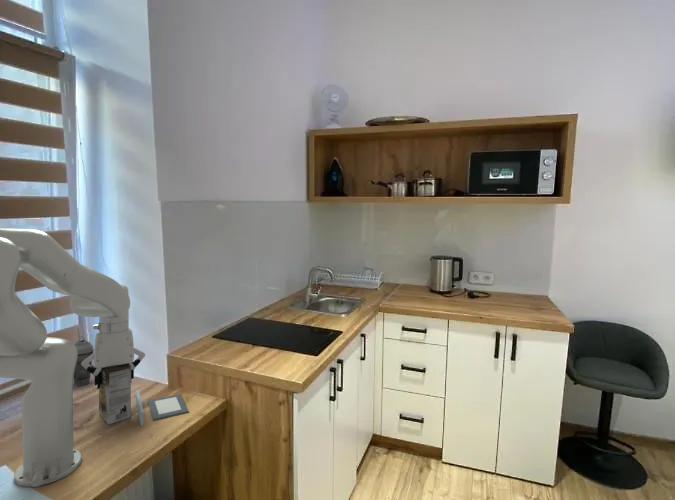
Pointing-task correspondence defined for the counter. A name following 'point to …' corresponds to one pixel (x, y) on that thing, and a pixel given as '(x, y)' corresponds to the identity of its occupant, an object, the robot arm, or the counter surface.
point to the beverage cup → (83, 352)
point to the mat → (167, 407)
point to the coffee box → (115, 393)
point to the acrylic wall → (139, 408)
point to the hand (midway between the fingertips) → (114, 383)
